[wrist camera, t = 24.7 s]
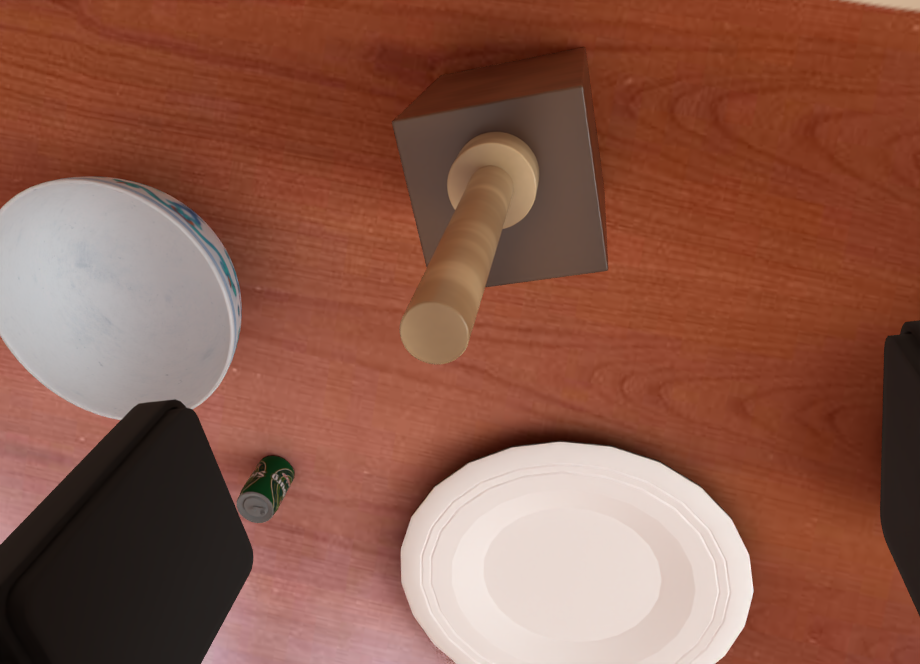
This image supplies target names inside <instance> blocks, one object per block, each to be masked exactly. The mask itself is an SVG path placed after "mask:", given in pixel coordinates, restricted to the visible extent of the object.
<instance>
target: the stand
mask: <svg viewBox="0 0 920 664" xmlns="http://www.w3.org/2000/svg"><path fill="white" fill-rule="evenodd" d="M392 125H393V130H394V134H395V138H396V142H397V146H398V150H399V155H400V159H401V163H402V167H403V171H404V175H405V179H406V184H407V188H408V192H409V196H410V200H411V204H412V209H413V213H414V217H415V221H416V225H417V229H418V233H419V238H420V242H421V246H422V250H423V254H424V258H425V263H426V267H428V264H429V262H430V260H431V258H432V256H433V254H434V252H435V250H436V248H437V246H438V244H439V242H440V240H441V238H442V236H443V234H444V232H445V230H446V228H447V226H448V224H449V222H450V220H451V218H452V216H453V214H454V212H455V209H454V208H453V206H452V204H451V202H450V199H449V195H448V190H447V180H448V175H449V171H450V169H451V166H452V164H453V163H454V161H455V159H456V158H457V156H458V154H459V153H460V151H461V150H462V148H463V147H464V146H465V145H466V144H467V143H468V142H469V141H470V140H472V139H473V138H474V137H476V136H478V135H481V134H484V133H488V132H504V133H508V134H511V135H514V136H516V137H518V138H519V139H521V140H522V141H523V142H525V143H526V144H527V145H528V146H529V148H530V149H531V150H532V152H533V153H534V155H535V157H536V159H537V162H538V166H539V183H538V188H537V192H536V197H535V201H534V203H533V206H532V207H531V209H530V211H529V212H528V214H527V215H526V216H525V217H524V218H523V219H522V220H521V221H519V222H518V223H516V224H515V225H513V226H511V227H508V228H505V229H502V232H501V236H500V239H499V242H498V246H497V249H496V252H495V256H494V259H493V262H492V266H491V269H490V272H489V276H488V279H487V282H486V286H485V287H491V286H498V285H506V284H513V283H520V282H528V281H535V280H543V279H550V278H558V277H565V276H572V275H580V274H587V273H595V272H602V271H607V270H608V253H607V233H606V213H605V193H604V184H603V177H602V169H601V162H600V154H599V147H598V139H597V132H596V124H595V116H594V109H593V101H592V94H591V86H590V79H589V71H588V64H587V56H586V49H585V47H582V48H577V49H571V50H566V51H561V52H556V53H551V54H546V55H541V56H536V57H531V58H526V59H521V60H516V61H511V62H506V63H501V64H496V65H491V66H486V67H481V68H476V69H471V70H466V71H461V72H456V73H451V74H446V75H441V76H440V77H439V78H438V79H436V80H435V81H434V82H433V83H432V84H431V85H430V86H429V87H428V88H427V89H426V90H425V91H424V92H423V93H422V94H421V95H420V96H418V97H417V98H416V99H415V100H414V101H413V102H412V103H411V104H410V105H409V106H408V107H407V108H406V109H405V110H404V111H403V112H402V113H400V114H399V115H398V116H397V117H396V118H395V119H394V120H393V121H392Z"/></svg>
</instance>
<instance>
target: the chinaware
mask: <svg viewBox="0 0 920 664" xmlns="http://www.w3.org/2000/svg"><path fill="white" fill-rule="evenodd" d="M241 316H242V304H241V293H240V287H239V282H238V278H237V275H236V272H235V269H234V266H233V264H232V261H231V259H230V257H229V255H228V253H227V251H226V249H225V247H224V246H223V244H222V243H221V241H220V240H219V238H218V237H217V235H216V234H215V233H214V231H213V230H212V229H211V228H210V227H209V226H208V224H207V223H206V222H205V221H204V220H203V219H202V218H201V217H200V216H198V215H197V214H196V213H195V212H194V211H193V210H191V209H190V208H189V207H187V206H186V205H185V204H183V203H182V202H180V201H179V200H177V199H175V198H174V197H172V196H170V195H168V194H166V193H164V192H162V191H160V190H157V189H155V188H153V187H150V186H147V185H144V184H141V183H137V182H134V181H129V180H124V179H119V178H111V177H95V176H90V177H72V178H64V179H58V180H52V181H48V182H44V183H41V184H38V185H35V186H32V187H30V188H28V189H26V190H24V191H22V192H20V193H19V194H17V195H16V196H14V197H13V198H12V199H10V200H9V201H8V202H7V203H6V204H5V205H4V206H3V207H2V208H1V209H0V336H1V338H2V339H3V341H4V342H5V344H6V345H7V347H8V348H9V350H10V351H11V352H12V353H13V355H14V356H15V357H16V358H17V360H18V361H19V362H20V363H21V364H22V365H23V366H24V367H25V368H26V369H27V370H28V371H29V372H30V373H31V374H32V375H33V376H34V377H35V378H36V379H37V380H38V381H40V382H41V383H42V384H43V385H44V386H46V387H47V388H48V389H50V390H51V391H53V392H54V393H55V394H57V395H59V396H60V397H62V398H63V399H65V400H67V401H69V402H70V403H72V404H74V405H76V406H78V407H80V408H83V409H85V410H87V411H90V412H92V413H95V414H98V415H101V416H105V417H108V418H113V419H117V420H122V419H123V417H124V416H125V415H126V414H127V413H128V412H129V411H130V410H131V409H132V408H133V407H134V406H136V405H137V404H139V403H146V402H155V401H165V400H174V399H176V400H178V401H181V402H182V403H183V404H184V405H185V406H186V408H190V409H194V408H195V407H197V406H198V405H200V404H201V403H203V402H204V401H205V400H206V399H207V398H208V397H209V396H210V395H211V394H212V393H213V392H214V391H215V390H216V388H217V387H218V386H219V384H220V383H221V381H222V380H223V378H224V376H225V375H226V373H227V371H228V368H229V366H230V364H231V361H232V359H233V356H234V353H235V350H236V347H237V343H238V339H239V334H240V327H241Z"/></svg>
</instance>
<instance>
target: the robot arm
mask: <svg viewBox="0 0 920 664" xmlns="http://www.w3.org/2000/svg"><path fill="white" fill-rule="evenodd" d="M880 517H881V525H882V530H883V534H884V537H885V540H886V543H887V545H888V548H889V550H890V552H891V554H892V556H893V559H894V561H895V563H896V565H897V567H898V570H899V572H900V574H901V576H902V578H903V581H904V583H905V585H906V587H907V589H908V592H909V594H910V596H911V598H912V600H913V603H914V605H915V607H916V609H917V611H918V614H919V616H920V321H911V322H905V323H904V325H903V326H902V329H901V334H900V335H892V336H888V337H887V338H886V341H885V347H884V379H883V420H882V460H881V501H880ZM252 565H253V550H252V546H251V543H250V541H249V539H248V536H247V534H246V531H245V529H244V527H243V524H242V522H241V519H240V517H239V515H238V512H237V510H236V507H235V505H234V503H233V500H232V498H231V495H230V493H229V491H228V488H227V486H226V483H225V481H224V479H223V476H222V474H221V471H220V469H219V467H218V464H217V462H216V459H215V457H214V455H213V452H212V450H211V447H210V445H209V442H208V440H207V438H206V435H205V433H204V430H203V428H202V426H201V423H200V421H199V418H198V416H197V415H196V413H195V412H194V411H193V410H192V409H190V408H186V406H185V405H184V404H183V403H182V402H181V401H178V400H176V399H174V400H165V401H155V402H146V403H139V404H137V405H136V406H134V407H133V408H132V409H131V410H130V411H129V412H128V413H127V414H126V415H125V416H124V417H123V419H122V420H121V421H120V422H119V423H118V424H117V425H116V426H115V427H114V428H113V429H112V430H111V431H110V432H109V433H108V434H107V435H106V436H105V437H104V438H103V439H102V440H101V441H100V442H99V443H98V444H97V445H96V446H95V447H94V449H93V450H92V451H91V452H90V453H89V454H88V455H87V456H86V457H85V458H84V459H83V460H82V461H81V462H80V463H79V464H78V465H77V466H76V467H75V468H74V469H73V470H72V471H71V472H70V473H69V474H68V475H67V476H66V478H65V479H64V480H63V481H62V482H61V483H60V484H59V485H58V486H57V487H56V488H55V489H54V490H53V491H52V492H51V493H50V494H49V495H48V496H47V497H46V498H45V499H44V500H43V501H42V502H41V503H40V504H39V505H38V506H37V508H36V509H35V510H34V511H33V512H32V513H31V514H30V515H29V516H28V517H27V518H26V519H25V520H24V521H23V522H22V523H21V524H20V525H19V526H18V527H17V528H16V529H15V530H14V531H13V532H12V533H11V534H10V535H9V536H8V538H7V539H6V540H5V541H4V542H3V543H2V544H1V545H0V664H201V662H202V661H203V659H204V657H205V655H206V653H207V651H208V649H209V648H210V646H211V644H212V642H213V640H214V638H215V637H216V635H217V633H218V631H219V629H220V627H221V625H222V624H223V622H224V620H225V618H226V616H227V614H228V613H229V611H230V609H231V607H232V605H233V603H234V601H235V600H236V598H237V596H238V594H239V592H240V590H241V589H242V587H243V585H244V583H245V581H246V579H247V577H248V576H249V574H250V571H251V569H252Z"/></svg>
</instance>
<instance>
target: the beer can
mask: <svg viewBox="0 0 920 664" xmlns="http://www.w3.org/2000/svg"><path fill="white" fill-rule="evenodd" d="M293 479H294V470H293V468H292V466H291V465H290V463H288V462H287V461H286V460H285V459H283V458H280V457H277V456H267V457H265V458H263V459H262V460H261V461H260V462H259V464H258V465H257V466H256V468H255V469H254V471H253V473H252V474H251V476H250V477H249V479H248V481H247V482H246V484H245V485H244V487H243V489H242V490H241V493H240V495H239V497H238V500H237V508H238V511H239V513H240V514H241V515H242V516H243V517H244V518H245V519H247V520H249V521H251V522H255V523H263V522H266V521H268V520H269V519H271V518H272V516H273V515H274V513H275V512H276V511H277V509H278V508H279V506H280V504H281V502H282V500H283V498H284V497H285V495H286V493H287V491H288V489H289V487H290V485H291V483H292V481H293Z"/></svg>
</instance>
